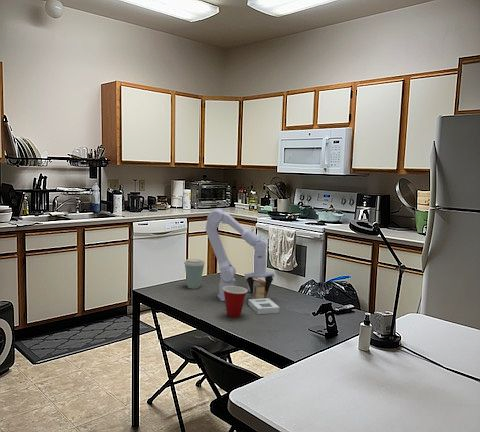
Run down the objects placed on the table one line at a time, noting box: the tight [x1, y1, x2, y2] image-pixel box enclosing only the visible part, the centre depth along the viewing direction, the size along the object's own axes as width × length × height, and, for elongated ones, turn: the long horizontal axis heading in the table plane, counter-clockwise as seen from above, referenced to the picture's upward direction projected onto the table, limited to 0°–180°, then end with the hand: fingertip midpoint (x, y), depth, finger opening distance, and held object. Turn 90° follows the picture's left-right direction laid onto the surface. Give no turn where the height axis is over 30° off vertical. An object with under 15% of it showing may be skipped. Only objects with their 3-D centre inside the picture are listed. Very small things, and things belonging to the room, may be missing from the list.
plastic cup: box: [223, 285, 249, 319], centre depth 188 cm, size 11×11×12 cm
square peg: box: [253, 285, 265, 299], centre depth 211 cm, size 4×4×7 cm
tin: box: [246, 278, 269, 298], centre depth 220 cm, size 15×3×8 cm, turn 34°
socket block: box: [247, 297, 280, 315], centre depth 199 cm, size 14×10×2 cm
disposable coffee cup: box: [184, 258, 205, 290], centre depth 230 cm, size 11×11×15 cm
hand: (259, 292), depth 211 cm, fingers open, 7 cm apart
